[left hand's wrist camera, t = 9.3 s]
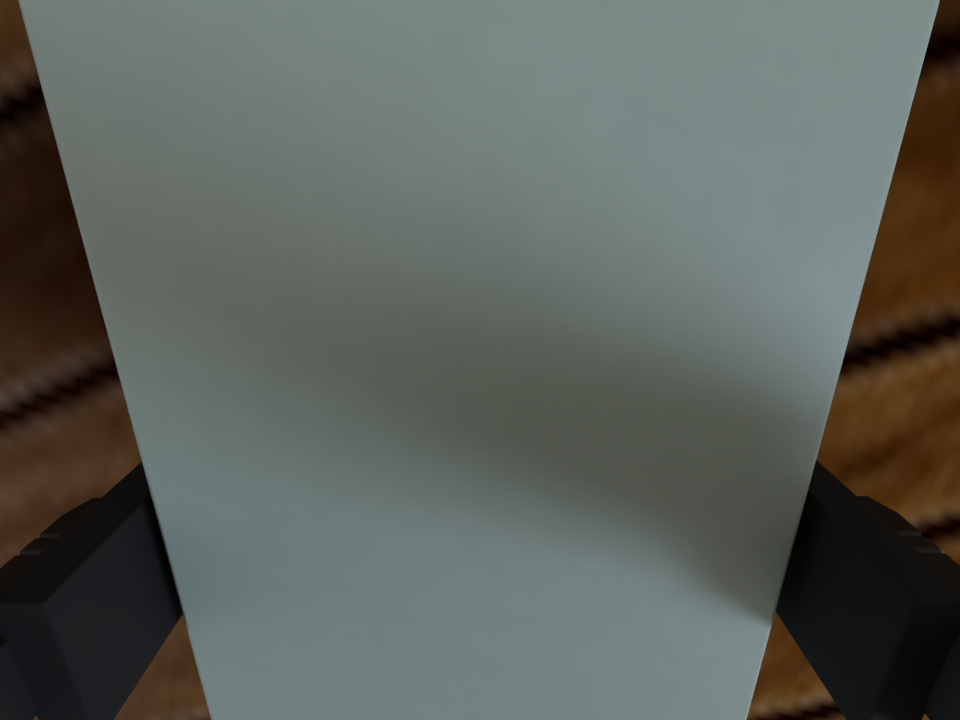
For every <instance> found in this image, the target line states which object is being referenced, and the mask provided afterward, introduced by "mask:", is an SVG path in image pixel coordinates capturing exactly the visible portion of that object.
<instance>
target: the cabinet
mask: <svg viewBox="0 0 960 720" xmlns="http://www.w3.org/2000/svg"><path fill="white" fill-rule="evenodd" d="M18 1H19V5H20V8H21V12H22V16H23V20H24V23H25V27H26V31H27V35H28V38H29V42H30V46H31V49H32V53H33V57H34V61H35V64H36V68H37V72H38V76H39V79H40V83H41V87H42V90H43V94H44V98H45V102H46V105H47V109H48V113H49V117H50V120H51V124H52V128H53V131H54V135H55V139H56V143H57V146H58V150H59V154H60V158H61V161H62V165H63V169H64V172H65V176H66V180H67V184H68V187H69V191H70V195H71V199H72V202H73V206H74V210H75V213H76V217H77V221H78V225H79V228H80V232H81V236H82V240H83V243H84V247H85V251H86V254H87V258H88V262H89V266H90V269H91V273H92V277H93V281H94V284H95V288H96V292H97V295H98V299H99V303H100V307H101V310H102V314H103V318H104V322H105V325H106V329H107V333H108V336H109V340H110V344H111V348H112V351H113V355H114V359H115V363H116V366H117V370H118V374H119V377H120V381H121V385H122V389H123V392H124V396H125V400H126V403H127V407H128V411H129V415H130V418H131V422H132V426H133V430H134V433H135V437H136V441H137V444H138V448H139V452H140V456H141V459H142V463H143V467H144V471H145V474H146V478H147V482H148V485H149V489H150V493H151V497H152V500H153V504H154V508H155V512H156V515H157V519H158V523H159V526H160V530H161V534H162V538H163V541H164V545H165V549H166V553H167V556H168V560H169V564H170V567H171V571H172V575H173V579H174V582H175V586H176V590H177V594H178V597H179V601H180V605H181V608H182V612H183V616H184V620H185V623H186V627H187V631H188V635H189V638H190V642H191V646H192V649H193V653H194V657H195V661H196V664H197V668H198V672H199V676H200V679H201V683H202V687H203V690H204V694H205V698H206V702H207V705H208V709H209V713H210V717H211V720H746V719H747V715H748V711H749V708H750V704H751V700H752V696H753V693H754V689H755V685H756V682H757V678H758V674H759V670H760V667H761V663H762V659H763V656H764V652H765V648H766V644H767V641H768V637H769V633H770V630H771V626H772V622H773V618H774V615H775V611H776V607H777V603H778V600H779V596H780V592H781V589H782V585H783V581H784V577H785V574H786V570H787V566H788V563H789V559H790V555H791V551H792V548H793V544H794V540H795V537H796V533H797V529H798V525H799V522H800V518H801V514H802V510H803V507H804V503H805V499H806V496H807V492H808V488H809V484H810V481H811V477H812V473H813V470H814V466H815V462H816V458H817V455H818V451H819V447H820V444H821V440H822V436H823V432H824V429H825V425H826V421H827V417H828V414H829V410H830V406H831V403H832V399H833V395H834V391H835V388H836V384H837V380H838V377H839V373H840V369H841V365H842V362H843V358H844V354H845V351H846V347H847V343H848V339H849V336H850V332H851V328H852V324H853V321H854V317H855V313H856V310H857V306H858V302H859V298H860V295H861V291H862V287H863V284H864V280H865V276H866V272H867V269H868V265H869V261H870V258H871V254H872V250H873V246H874V243H875V239H876V235H877V232H878V228H879V224H880V220H881V217H882V213H883V209H884V205H885V202H886V198H887V194H888V191H889V187H890V183H891V179H892V176H893V172H894V168H895V165H896V161H897V157H898V153H899V150H900V146H901V142H902V139H903V135H904V131H905V127H906V124H907V120H908V116H909V112H910V109H911V105H912V101H913V98H914V94H915V90H916V86H917V83H918V79H919V75H920V72H921V68H922V64H923V60H924V57H925V53H926V49H927V46H928V42H929V38H930V34H931V31H932V27H933V23H934V19H935V16H936V12H937V8H938V5H939V1H940V0H18Z"/></svg>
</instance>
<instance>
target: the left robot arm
mask: <svg viewBox="0 0 960 720" xmlns="http://www.w3.org/2000/svg"><path fill="white" fill-rule="evenodd" d="M776 612H777V614H778V615H779V617H780V618H781V620H782V622H783V623H784V625H785V626H786V628H787V629H788V631H789V632H790V634H791V635H792V637H793V638H794V640H795V641H796V643H797V645H798V646H799V648H800V649H801V651H802V652H803V654H804V655H805V657H806V658H807V660H808V661H809V663H810V664H811V666H812V668H813V669H814V671H815V672H816V674H817V675H818V677H819V678H820V680H821V681H822V683H823V684H824V686H825V687H826V689H827V690H828V692H829V694H830V695H831V697H832V698H833V700H834V701H835V703H836V704H837V706H838V707H839V709H840V710H841V712H842V713H843V715H844V717H845V718H846V720H922V718H923V715H924V713H925V714H926V715H927V716H928V718H929V719H930V720H960V566H959V565H958V564H957V563H956V562H955V561H954V560H952V559H951V558H950V557H949V556H948V555H947V554H942V553H941V549H939V548H938V547H937V546H936V545H935V544H934V543H932V542H931V541H930V540H929V539H928V538H927V537H922V536H921V532H919V531H918V530H917V529H916V528H915V527H914V526H912V525H911V524H910V523H909V522H908V521H907V520H905V519H904V518H903V517H902V516H901V515H899V514H898V513H897V512H895V511H893V510H891V509H889V508H888V507H886V506H884V505H882V504H880V503H879V502H877V501H875V500H873V499H871V498H870V497H868V496H856V495H855V494H854V493H852V492H851V491H850V490H849V489H848V488H847V487H846V486H845V485H844V484H842V483H841V482H840V481H839V480H838V479H837V478H836V477H835V476H833V475H832V474H831V473H830V472H829V471H828V470H827V469H826V468H825V467H823V466H822V465H821V464H820V463H819V462H818V461H817V460H816V462H815V466H814V470H813V473H812V477H811V481H810V484H809V488H808V492H807V496H806V499H805V503H804V507H803V510H802V514H801V518H800V522H799V525H798V529H797V533H796V537H795V540H794V544H793V548H792V551H791V555H790V559H789V563H788V566H787V570H786V574H785V577H784V581H783V585H782V589H781V592H780V596H779V600H778V603H777V607H776ZM182 614H183V612H182V608H181V605H180V601H179V597H178V594H177V590H176V586H175V582H174V579H173V575H172V571H171V567H170V564H169V560H168V556H167V553H166V549H165V545H164V541H163V538H162V534H161V530H160V526H159V523H158V519H157V515H156V512H155V508H154V504H153V500H152V497H151V493H150V489H149V485H148V482H147V478H146V474H145V471H144V467H143V463H142V462H141V463H140V464H139V465H138V466H137V467H135V468H134V469H133V470H132V471H131V472H130V473H129V474H128V475H127V476H125V477H124V478H123V479H122V480H121V481H120V482H119V483H118V484H117V485H115V486H114V487H113V488H112V489H111V490H110V491H109V492H108V493H106V494H105V495H104V496H103V497H102V498H92V499H91V500H89V501H87V502H85V503H83V504H82V505H80V506H78V507H76V508H74V509H73V510H71V511H69V512H67V513H65V514H64V515H62V516H61V517H60V518H59V519H58V520H56V521H55V522H54V523H53V524H52V525H51V526H49V527H48V528H47V529H46V530H45V531H43V532H42V533H41V534H40V537H39V539H34V540H33V541H32V542H31V543H29V544H28V545H27V546H26V547H25V548H24V549H22V550H21V551H20V555H19V556H14V557H13V558H12V559H11V560H10V561H8V562H7V563H6V564H5V565H4V566H3V567H1V568H0V720H32V719H33V718H34V717H35V716H36V715H37V718H38V720H114V718H115V717H116V715H117V714H118V712H119V710H120V709H121V707H122V706H123V704H124V703H125V701H126V700H127V698H128V697H129V695H130V694H131V692H132V691H133V689H134V687H135V686H136V684H137V683H138V681H139V680H140V678H141V677H142V675H143V674H144V672H145V671H146V669H147V668H148V666H149V664H150V663H151V661H152V660H153V658H154V657H155V655H156V654H157V652H158V651H159V649H160V648H161V646H162V645H163V643H164V641H165V640H166V638H167V637H168V635H169V634H170V632H171V631H172V629H173V628H174V626H175V625H176V623H177V622H178V620H179V619H180V617H181V615H182Z"/></svg>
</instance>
